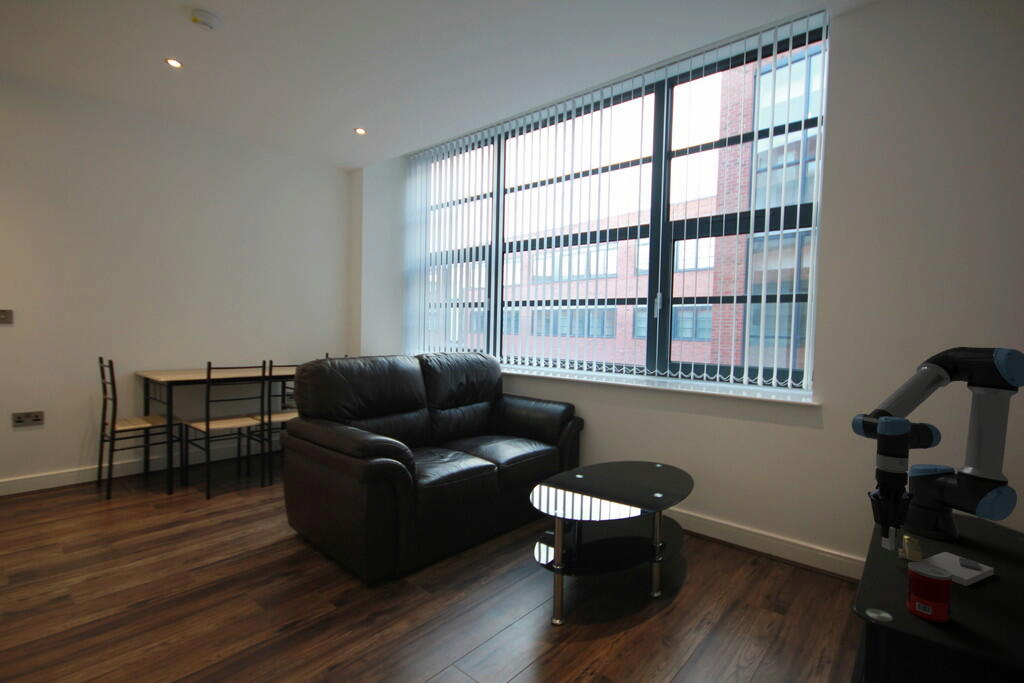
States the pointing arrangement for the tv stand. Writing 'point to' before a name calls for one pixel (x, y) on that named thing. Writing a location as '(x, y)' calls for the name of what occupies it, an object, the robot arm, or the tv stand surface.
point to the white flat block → (960, 568)
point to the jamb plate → (902, 554)
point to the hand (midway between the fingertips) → (887, 548)
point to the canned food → (929, 591)
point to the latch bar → (912, 548)
